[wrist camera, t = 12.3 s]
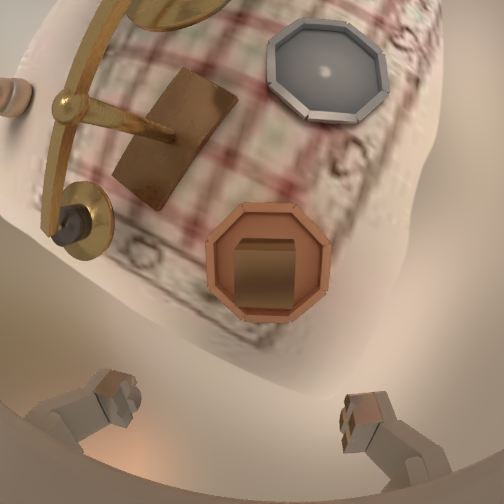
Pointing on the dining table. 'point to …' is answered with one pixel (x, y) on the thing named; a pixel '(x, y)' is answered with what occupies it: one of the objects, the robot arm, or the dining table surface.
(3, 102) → the plastic bottle
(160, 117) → the brass balance
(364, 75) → the slate dish
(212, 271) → the terracotta dish
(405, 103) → the dining table surface
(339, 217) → the dining table surface
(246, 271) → the walnut block
